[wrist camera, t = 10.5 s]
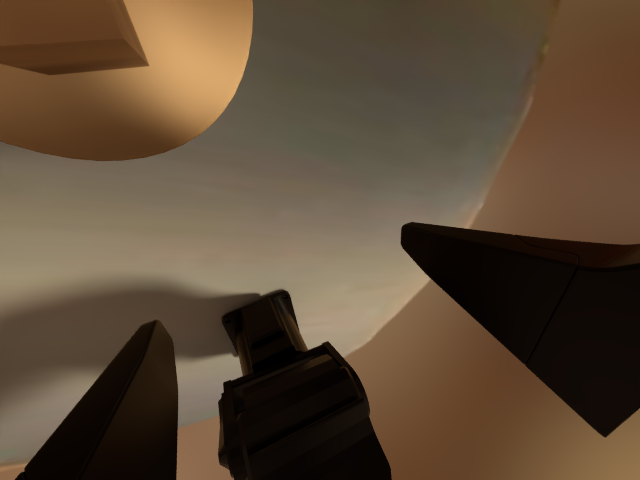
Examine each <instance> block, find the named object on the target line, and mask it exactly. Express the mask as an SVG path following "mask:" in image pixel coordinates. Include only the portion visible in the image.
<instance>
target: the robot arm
mask: <svg viewBox="0 0 640 480" xmlns="http://www.w3.org/2000/svg"><path fill="white" fill-rule="evenodd" d="M401 246H402V248H403V249H404V250H405V251H406V252H407V253H408V255H409V256H410V257H411V258H412V259H413V260H414V261H415V262H416V264H417V265H418V266H419V267H420V268H421V269H422V270H423V271H424V272H425V273H426V274H427V275H428V276H429V277H430V278H431V279H432V280H433V281H434V282H435V283H436V284H437V285H438V286H440V287H441V288H442V289H443V290H444V291H445V292H446V293H447V294H448V295H449V296H450V297H451V298H453V299H454V300H455V301H456V302H457V303H458V304H459V305H460V306H461V307H462V308H463V309H464V310H466V311H467V312H468V313H469V314H470V315H471V316H472V317H473V318H474V319H475V320H476V321H478V322H479V323H480V324H481V325H482V326H483V327H484V328H485V329H486V330H487V331H488V332H490V333H491V334H492V335H493V336H494V337H495V338H496V339H497V340H498V341H499V342H500V343H502V344H503V345H504V346H505V347H506V348H507V349H508V350H509V351H510V352H511V353H512V354H513V355H515V356H516V357H517V358H518V359H519V360H520V361H521V362H522V363H523V364H525V366H526V367H527V368H528V369H530V370H531V371H532V372H533V373H534V374H535V375H536V376H537V377H539V379H540V380H541V381H542V382H544V383H545V384H546V385H547V386H548V387H549V388H550V389H551V390H552V391H553V392H555V394H557V395H558V396H559V397H560V398H561V399H562V400H563V401H564V402H565V403H566V404H567V405H569V406H570V407H571V408H572V409H573V410H574V411H575V412H576V413H577V414H578V415H579V416H580V417H582V418H583V419H584V420H585V421H586V422H587V423H588V424H589V425H590V426H591V427H592V428H594V429H595V430H596V431H597V432H598V433H599V434H601V435H602V436H603V437H607V436H608V435H609V434H611V433H612V432H613V431H614V430H615V429H616V428H617V427H619V426H620V425H621V424H622V423H623V422H624V421H626V420H627V419H628V418H629V417H630V416H631V415H632V414H633V413H635V412H636V411H637V410H638V409H639V408H640V244H631V245H620V244H605V243H592V242H581V241H569V240H559V239H547V238H539V237H530V236H521V235H512V234H504V233H496V232H489V231H480V230H472V229H464V228H456V227H448V226H440V225H432V224H424V223H415V222H410V223H407V224H405V225H403V226H402V228H401ZM285 295H286V296H285ZM283 296H285V297H283ZM227 319H230V320H227ZM222 323H223V325H224V327H225V329H226V331H227V333H228V335H229V337H230V339H231V341H232V343H233V345H234V347H235V349H236V351H237V353H238V355H239V359H240V364H241V369H242V374H243V376H242V377H240V378H237V379H235V380H232V381H231V380H229V381H226V382H224V383H223V386H224V393H222V398H221V399H220V400H219V401H218V405H219V415H220V436H219V449H218V450H219V451H218V457H219V463H220V465H222V466H223V467H225V468H227V469H229V470H230V474H231V477H232V478H233V477H234V480H392V479H391V469H390V465H389V463H388V461H387V459H386V456H385V454H384V452H383V450H382V448H381V445H380V443H379V441H378V439H377V437H376V434H375V432H374V429H373V426H372V424H371V421H370V418H369V415H370V408H369V402H368V398H367V395H366V393H365V390H364V387H363V385H362V383H361V381H360V379H359V377H358V375H357V374H356V372H355V371H354V370H353V368H352V367H351V366H350V365H349V364H348V363H347V362H346V361H345V359H344V358H343V357H342V356H341V355H340V354H339V353H338V352H337V351H336V349H335V348H334V347H333V346H332V345H331V344H330V343H329V342H328V341H327V342H325V343H322V345H320V346H317V347H315V348H312V349H310V350H308V349H307V347H306V344H305V342H304V340H303V338H302V336H301V334H300V332H299V328H298V324H297V320H296V317H295V313H294V309H293V305H292V301H291V297H290V295H289V293H288V291H282V292H280V293H277V294H275V295H272V296H270V297H268V298H265V299H263V300H260V301H258V302H255V303H253V304H250V305H248V306H246V307H243V308H241V309H238V310H236V311H233V312H231V313H228V314H226V315H224V316H223V317H222ZM177 429H178V384H177V374H176V365H175V355H174V346H173V341H172V338H171V336H170V335H169V333H168V332H167V330H166V329H165V328H164V326H163V325H162V323H161V322H160V321H159V320H154V321H151V322H148V323H146V324H143V325H142V326H140V328H139V329H138V330H137V331H136V332H135V334H134V335H133V336H132V337H131V339H130V340H129V341H128V342H127V343H126V345H125V346H124V347H123V348H122V350H121V351H120V352H119V353H118V354H117V356H116V357H115V358H114V359H113V360H112V362H111V363H110V364H109V365H108V367H107V368H106V369H105V370H104V371H103V373H102V374H101V375H100V376H99V378H98V379H97V380H96V381H95V382H94V384H93V385H92V386H91V387H90V389H89V390H88V391H87V392H86V393H85V395H84V396H83V397H82V398H81V400H80V401H79V402H78V403H77V404H76V406H75V407H74V408H73V409H72V411H71V412H70V413H69V414H68V415H67V417H66V418H65V419H64V420H63V422H62V423H61V424H60V425H59V426H58V428H57V429H56V430H55V431H54V433H53V434H52V435H51V436H50V437H49V439H48V440H47V441H46V442H45V444H44V445H43V446H42V447H41V448H40V450H39V451H38V452H37V453H36V455H35V456H34V457H33V458H32V459H31V461H30V462H29V463H28V464H27V465H26V467H25V469H24V470H25V472H21V473H20V474H19V475H18V476H17V478H16V479H15V480H176V470H177Z"/></svg>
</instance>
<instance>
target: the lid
mask: <svg viewBox="0 0 640 480" xmlns="http://www.w3.org/2000/svg"><path fill="white" fill-rule="evenodd" d="M252 20H253V1H252V0H0V141H2V142H5V143H7V144H11V145H14V146H18V147H22V148H25V149H29V150H32V151H36V152H40V153H44V154H50V155H55V156H61V157H66V158H72V159H83V160H94V161H119V160H130V159H137V158H145V157H149V156H153V155H156V154H160V153H164V152H167V151H169V150H171V149H174V148H176V147H179V146H181V145H183V144H185V143H187V142H188V141H190V140H192V139H193V138H195V137H197V136H198V135H200V134H201V133H202V132H203V131H204V130H206V129H207V128H208V127H209V126H210V125H212V124H213V123H214V121H215V120H216V119H217V118H218V117H219V116H220V115H221V113H222V112H223V111H224V110H225V108H226V107H227V105H228V104H229V102H230V101H231V99H232V97H233V96H234V94H235V92H236V90H237V87H238V85H239V83H240V81H241V79H242V76H243V73H244V69H245V66H246V63H247V59H248V55H249V49H250V43H251V37H252Z"/></svg>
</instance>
